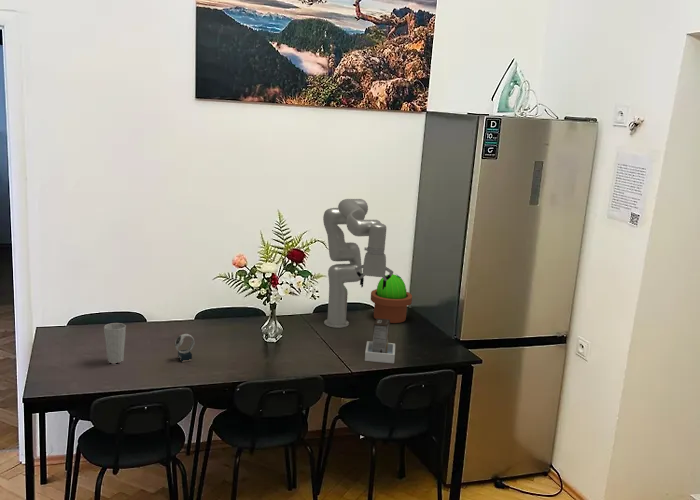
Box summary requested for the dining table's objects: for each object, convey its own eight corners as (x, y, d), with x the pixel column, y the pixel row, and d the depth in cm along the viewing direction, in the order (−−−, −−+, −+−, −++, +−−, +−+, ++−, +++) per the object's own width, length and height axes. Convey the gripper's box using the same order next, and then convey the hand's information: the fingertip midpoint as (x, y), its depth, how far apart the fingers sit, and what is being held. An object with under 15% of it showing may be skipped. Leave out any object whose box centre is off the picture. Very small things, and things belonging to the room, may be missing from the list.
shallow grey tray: (366, 349, 285) (367, 341, 285) (394, 351, 285) (395, 343, 284) (364, 360, 272) (365, 352, 271) (394, 363, 271) (394, 354, 270)
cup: (114, 367, 249) (113, 331, 245) (99, 362, 253) (99, 326, 249) (131, 361, 256) (130, 325, 253) (116, 356, 260) (116, 321, 257)
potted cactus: (370, 323, 321) (373, 277, 316) (368, 310, 343) (371, 267, 337) (412, 326, 322) (416, 279, 316) (407, 313, 343) (411, 269, 338)
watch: (173, 358, 262) (173, 333, 259) (192, 355, 266) (192, 331, 263) (176, 363, 257) (176, 338, 255) (195, 360, 261) (196, 335, 259)
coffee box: (373, 350, 283) (376, 317, 280) (387, 352, 282) (390, 319, 279) (371, 358, 274) (373, 323, 271) (385, 359, 273) (388, 325, 270)
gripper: (356, 251, 272) (353, 288, 276) (395, 254, 271) (391, 291, 275) (357, 247, 279) (354, 283, 283) (395, 250, 278) (391, 286, 282)
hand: (372, 287), depth 279 cm, fingers open, 9 cm apart
